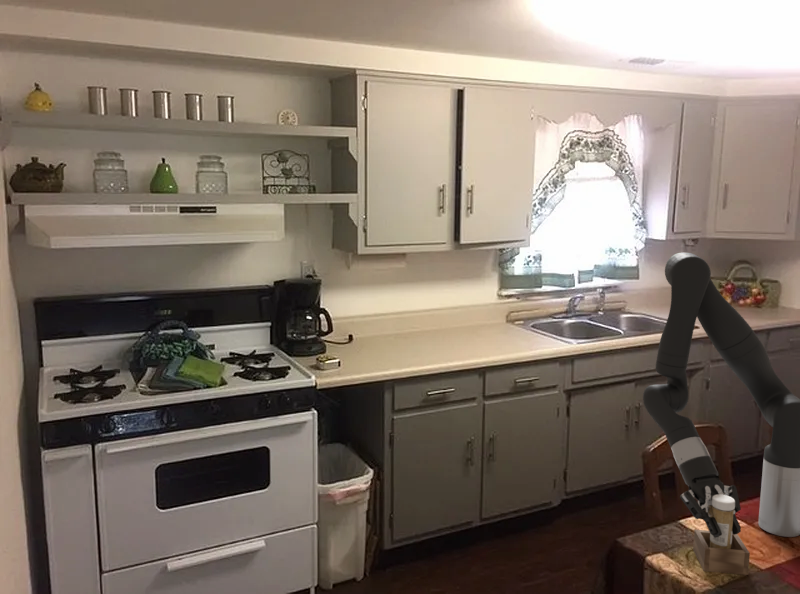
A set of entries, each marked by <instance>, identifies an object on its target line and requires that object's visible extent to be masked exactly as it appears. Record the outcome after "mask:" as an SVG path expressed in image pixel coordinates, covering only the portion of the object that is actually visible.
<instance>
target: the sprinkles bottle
mask: <svg viewBox="0 0 800 594" xmlns="http://www.w3.org/2000/svg"><path fill="white" fill-rule="evenodd" d="M712 505H713V506H712V512H713V518H715V519H716V521H717V524H718V526H719V528H720V530H721V532H722V535H721V536H719V537H714V536H713V535H712V534H711V533H710V548H721V549H731V543H732V526H733V511H734V509H735V500H734V499H733V498H732V497H730V496H727V495H725V494H724V495H721V494H718V495H714V496H713V497H712Z"/></svg>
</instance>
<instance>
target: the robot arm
mask: <svg viewBox="0 0 800 594" xmlns="http://www.w3.org/2000/svg"><path fill="white" fill-rule="evenodd" d="M711 271H712V270H711V268H710V265H709V264H708V262H707V261H706V260H705V259H704V258H702V257H700V256H698V255H696V254H695V253H691V252H683V251H682V252H678V253H675V254H673V255H671V257H669V258H668V260H667V262H666V264H665V268H664V275H665V280H667V282H668V284H669V285H670V286H671V289H670V290H671V291H670V293H671V296H670V306H669V307H670V308H669V313H668V316H667V320H666V323H665V325H664V328H663V331H662V334H661V336H660V341H659V343H658V344H659V345H658V350H657V354H656V355H657V356H656V362H655V371H656V373H658V375H661V376H663V377H666V381H667V382H666V383H665V384H664V383H662V384H657V383H655V384H650V385H648V386H647V387H645V389H644V391H643V395H642V402H643V405H644V408H645V409H646V411H647V413H648V415H650V417H651V418H652V420H653V421H654V422H655V423H656V425H658V427H659V428H660V429H661V430H662V432H663V433H664V435H665V437H666V441H667V442H668V444H669V447H670V449H671V451H672V455H673V458H674V460H675V463H676V465H677V467H678V470H679V472H680V474H681V476H682V479H683V481H684V483H685V485H687V487H688V490H686V491H684V492H683V493H682V494H680V496H679V499H681V501H682V502H683V504H684V505H685V506H686V508H687V509H688V510H689V512H690V513H691V515H692V516H693V518H694V519H695V520H703V521H704V522H705V524H706V527H707V529H708V531H710V533H711V534H712V535H713V536H714V537H719V536H721V535H722V532H721V530H720V528H719V526H718V524H717V521H716V519H715V518H713V512H712V506H713V505H712V497H713V496H714V495H718V494H721V495H727V496H730V497H732V498H733V499H734V500H735V509H734V511H733V526H732V534H733V535H735V534H738V535H739V534H740V533H741V532H742V531H741V530H742V529H741V528H742V527H741V525H740V523H739V521H738V519H737V515H736V514H737V513H738V512H739V511H741V509H742V507H741V504H740V500H739V494H738V490H737V489H738V488H737V486H736V485H735V484H731V485H730V486H729V485H725V484H724V482H722V481H721V479H720V478H719V471H718V470H717V467H716V465H715V463H714V461H713V459H712V457H711V454H710V453H709V451H708V448H707V447H706V444H705V443H704V442H703V440H702V438H701V436H700V434H699V433H698V431H697V428H696V426H695V424H694V422H693V421H692V419H691V418H690V417H688V416H684V415H680V414H678V413H680V412H682V411H683V410H684V409H685V408H686V406H687V405H688V402H689V385H688V377H687V368H688V363H689V358H690V351H691V347H692V346H691V345H692V339H693V334H694V330H695V325H696V320H697V319H698V322H699V323H700V325H701V327H702V329H703V331H704V332H705V334H706V335H707V337H708V339H709V341H710V342H711V343H712V345H713V346H714V348H715V350H716V351H717V352H718V354H719V355H720V357H721V358H722V359H723V361H724V362H725V363H726V365H727V366H728V367H729V368H730V370H731V371H732V372H733V373H734V374H735V376H736V377H737V378H738V379H739V381H741V383H742V384H744V386H745V387H746V388H747V390H748V391H749V393H750V394H751V396H752V398H753V400H754V401H755V404H756V405H757V407H758V408H759V410H760V412H761V414H762V416H763V418H764V420H765V421H766V422H767V423H768V425H770V426H771V427H772V432H771V440H770V444H768V445H765V447H764V451H763V462H762V474H761V475H762V476H761V485H760V487H761V488H760V499H759V510H758V511H759V512H758V527H759V528H761V529H762V530H764V531H766V532H767V533H770V534H771V535H775V536H778V537H779V536H780V537H784V538H787V537H789V538H792V537H793V538H795V537H798V536H800V398H799V397H798V396H796V395H795V394H794V393H793V392H792V391H791V390H790V389H789V388H788V386H786V385H785V383H783V381H782V380H781V379H780V378H779V376H778V375H777V374H776V372H775V370H774V369H773V366H772V364H771V360H770V357H769V355H768V353H767V350H766V348H765V346H764V345H763V343H762V341H761V340H760V338H759V337H758V335H757V333H755V331H754V330H753V328H752V327H751V325H749V323H748V322H747V321H746V320H745V319H744V317H743V316H742V315H741V314H740V313H739V312H738V310H736V309H735V307H734V306H732V305H731V304H730V303H729V302H728V300H726V298H725V297H724V296H723V295H722V294H721V293H720V291H719V290H718V289H717V287H716V285H715V284H714V282H713V280H712V278H711V277H712V276H711V275H712V272H711Z"/></svg>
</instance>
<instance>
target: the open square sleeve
mask: <svg viewBox="0 0 800 594" xmlns="http://www.w3.org/2000/svg"><path fill="white" fill-rule="evenodd" d="M692 549H693V553H694V554H695V556H696V558H697V560H698V562H699V565H700V567H701V569H702V570H703V572H709V573H711V572H712V573H722V574H723V573H724V574H732V575H733V574H734V575H746V576H747V575H748V576H749V568H750V555H751V553H750V551H749V549H748V547H747V546H746V544H744V542H743V541H742V539H741V537H740V536H739V533H738V534H735V535H733V534H732V543H731V549H721V548H710V531H709V530H707V529H706V530H703V529H694V531H693V546H692Z"/></svg>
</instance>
